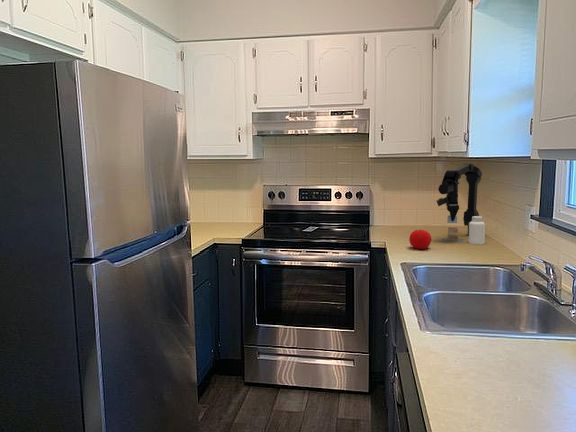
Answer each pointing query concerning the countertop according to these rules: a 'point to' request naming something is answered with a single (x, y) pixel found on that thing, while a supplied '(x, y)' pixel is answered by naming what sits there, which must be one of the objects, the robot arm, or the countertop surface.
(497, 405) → the countertop surface
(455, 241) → the mat
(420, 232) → the tomato
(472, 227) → the pill bottle
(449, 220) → the pale grey cube
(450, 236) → the tower base
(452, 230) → the tower top
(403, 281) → the countertop surface
